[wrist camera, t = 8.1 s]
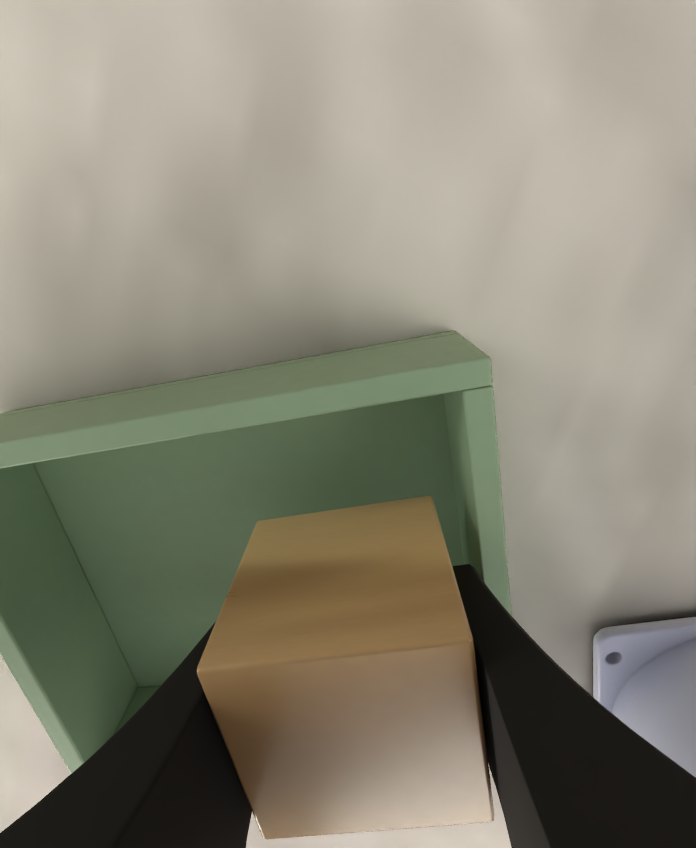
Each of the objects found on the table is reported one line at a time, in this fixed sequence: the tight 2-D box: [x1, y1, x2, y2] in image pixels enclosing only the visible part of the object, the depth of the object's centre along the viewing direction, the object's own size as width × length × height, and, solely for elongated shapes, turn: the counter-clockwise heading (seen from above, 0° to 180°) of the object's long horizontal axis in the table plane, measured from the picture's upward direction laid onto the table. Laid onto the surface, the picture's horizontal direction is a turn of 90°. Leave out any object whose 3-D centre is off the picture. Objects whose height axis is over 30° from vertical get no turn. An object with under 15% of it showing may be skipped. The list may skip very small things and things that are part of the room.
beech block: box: [197, 496, 494, 839], centre depth 10 cm, size 4×4×4 cm
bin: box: [0, 331, 511, 774], centre depth 13 cm, size 11×13×4 cm
